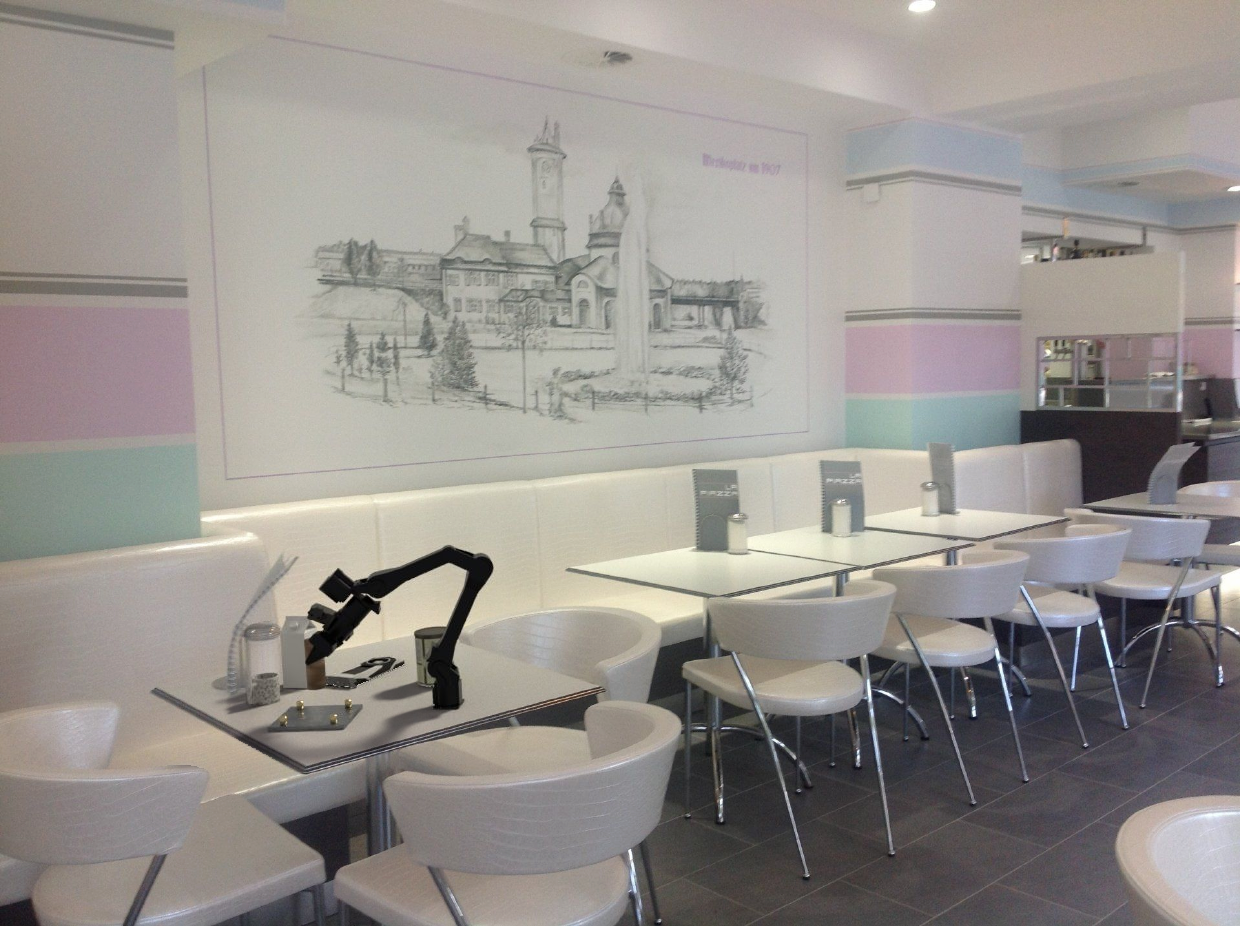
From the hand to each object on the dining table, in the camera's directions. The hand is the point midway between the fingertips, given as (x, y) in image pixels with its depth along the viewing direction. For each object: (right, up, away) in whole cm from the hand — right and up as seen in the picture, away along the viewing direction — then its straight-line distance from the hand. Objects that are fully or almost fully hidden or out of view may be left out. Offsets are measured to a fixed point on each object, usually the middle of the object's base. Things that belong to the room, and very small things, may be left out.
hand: (309, 661), depth 258 cm
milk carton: (-11, -12, +29) cm, 33 cm away
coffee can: (+26, -11, +26) cm, 39 cm away
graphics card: (+6, -11, +36) cm, 38 cm away
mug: (-16, -14, +13) cm, 25 cm away
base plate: (+2, -14, -2) cm, 14 cm away
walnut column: (+2, -7, 0) cm, 7 cm away
